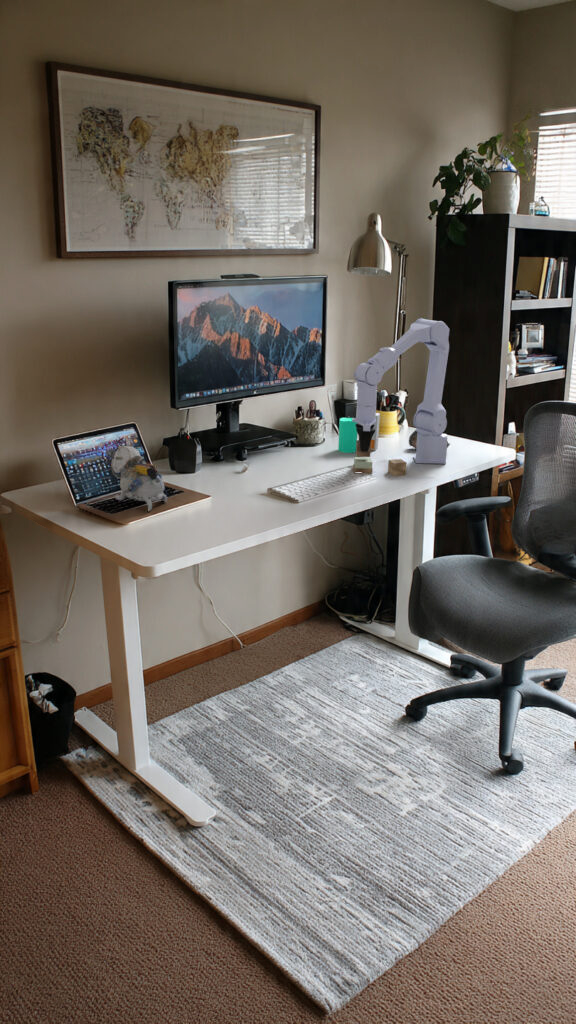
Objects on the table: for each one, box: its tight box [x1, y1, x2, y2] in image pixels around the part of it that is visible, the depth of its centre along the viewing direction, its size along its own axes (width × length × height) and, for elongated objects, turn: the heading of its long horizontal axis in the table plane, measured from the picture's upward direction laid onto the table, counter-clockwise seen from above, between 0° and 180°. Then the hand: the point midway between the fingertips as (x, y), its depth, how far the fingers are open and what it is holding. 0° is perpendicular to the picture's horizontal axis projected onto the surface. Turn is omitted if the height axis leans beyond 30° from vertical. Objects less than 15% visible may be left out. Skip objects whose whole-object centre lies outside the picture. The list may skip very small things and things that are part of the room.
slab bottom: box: [352, 463, 374, 475], centre depth 253 cm, size 6×6×2 cm
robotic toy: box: [107, 445, 168, 511], centre depth 218 cm, size 13×17×15 cm
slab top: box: [353, 456, 373, 468], centre depth 253 cm, size 5×5×2 cm
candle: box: [337, 417, 358, 454], centre depth 274 cm, size 6×6×12 cm
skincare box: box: [370, 412, 381, 452], centre depth 277 cm, size 6×4×12 cm
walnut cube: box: [355, 439, 371, 458], centre depth 251 cm, size 4×4×4 cm
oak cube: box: [387, 458, 408, 477], centre depth 251 cm, size 4×4×4 cm
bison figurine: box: [408, 429, 451, 449], centre depth 276 cm, size 12×7×10 cm
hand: (364, 449), depth 251 cm, fingers closed on walnut cube, 4 cm apart
